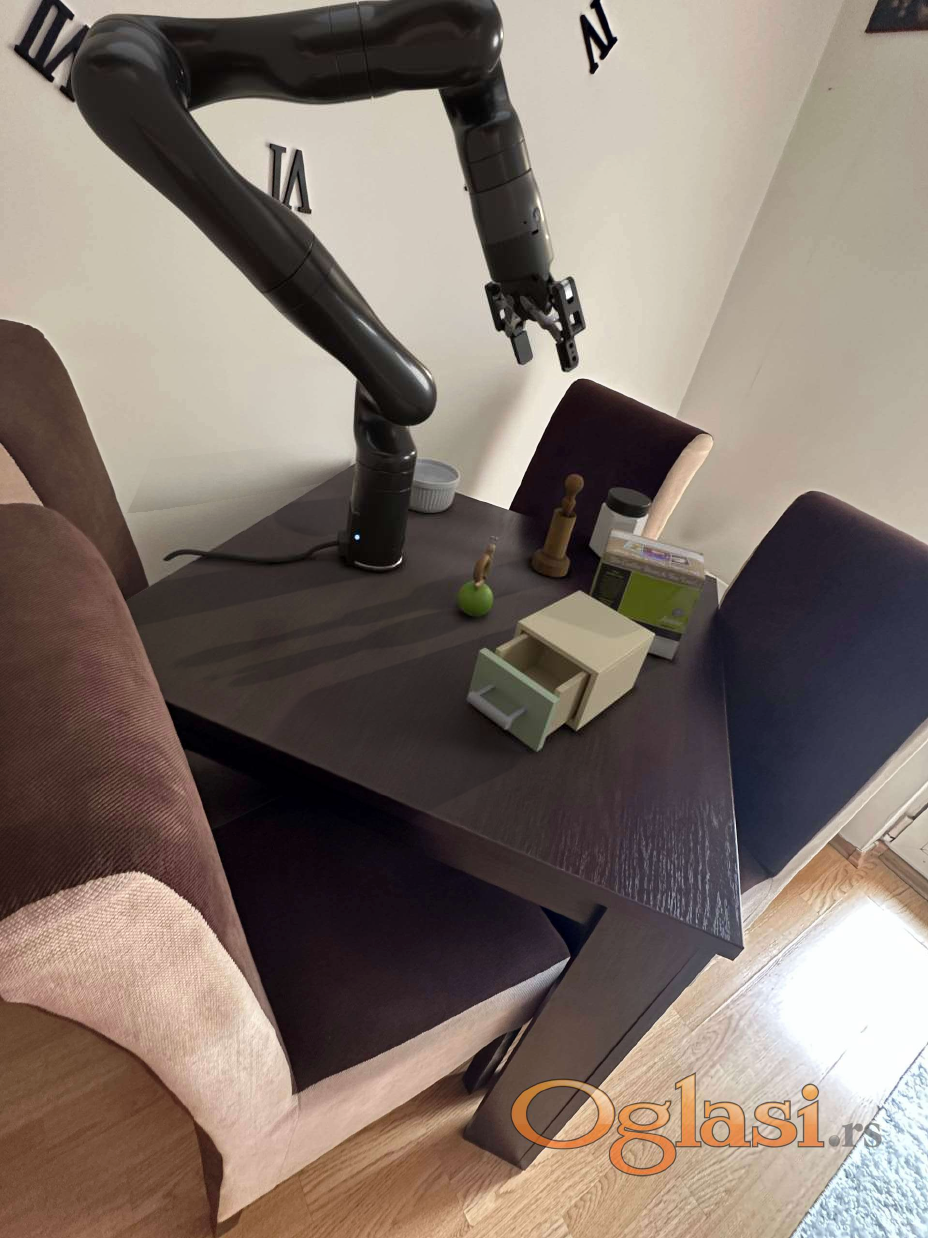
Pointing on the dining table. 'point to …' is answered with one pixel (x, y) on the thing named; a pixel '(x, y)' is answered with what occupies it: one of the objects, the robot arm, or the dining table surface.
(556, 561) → the mortar and pestle
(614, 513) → the jar
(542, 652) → the drawer
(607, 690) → the cabinet
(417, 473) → the ramekin
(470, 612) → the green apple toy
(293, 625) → the dining table surface
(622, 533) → the tea box
